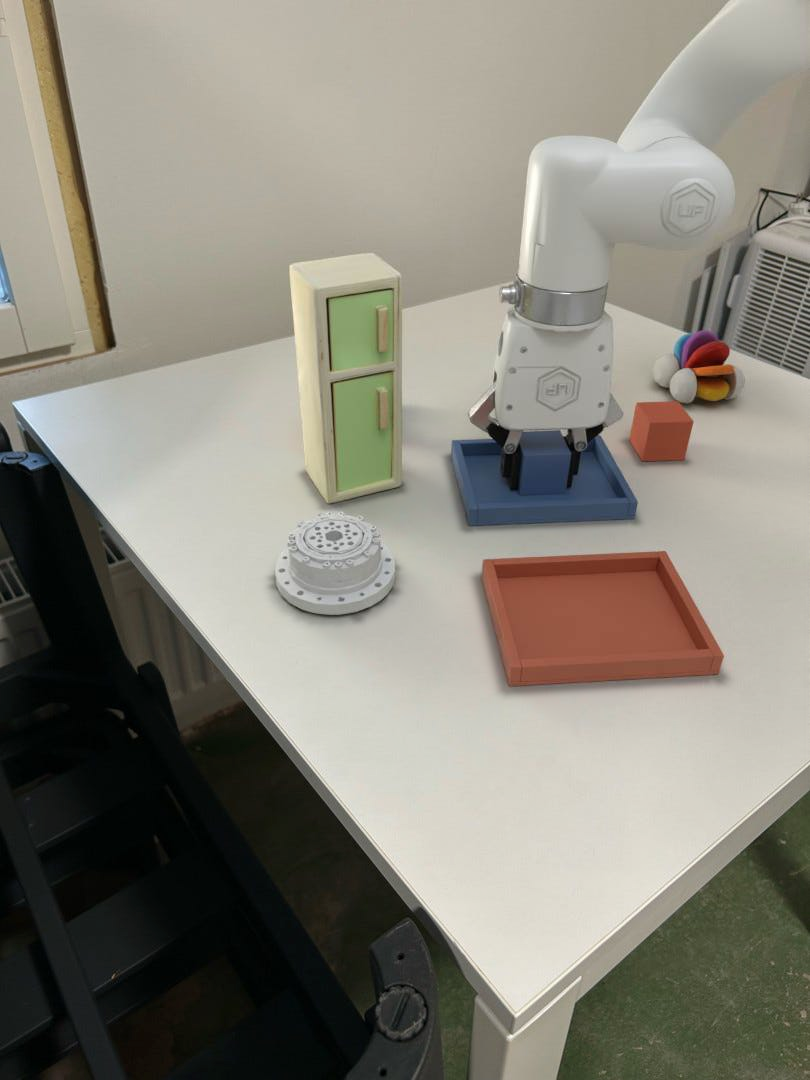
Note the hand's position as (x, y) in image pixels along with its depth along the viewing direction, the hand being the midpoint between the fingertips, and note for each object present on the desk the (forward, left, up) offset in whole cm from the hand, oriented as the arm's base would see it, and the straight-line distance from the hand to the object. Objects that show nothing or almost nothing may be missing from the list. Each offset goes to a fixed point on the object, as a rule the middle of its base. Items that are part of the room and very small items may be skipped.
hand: (537, 479), depth 81 cm
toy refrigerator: (+18, -2, -1) cm, 18 cm away
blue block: (0, 0, 0) cm, 0 cm away
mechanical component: (+20, +13, -1) cm, 24 cm away
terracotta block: (-14, -6, -1) cm, 15 cm away
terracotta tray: (0, +20, -1) cm, 20 cm away
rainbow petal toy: (-23, -19, -1) cm, 30 cm away
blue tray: (0, 0, -1) cm, 1 cm away
